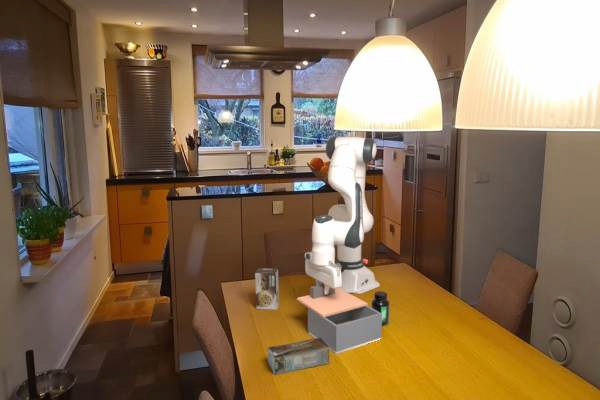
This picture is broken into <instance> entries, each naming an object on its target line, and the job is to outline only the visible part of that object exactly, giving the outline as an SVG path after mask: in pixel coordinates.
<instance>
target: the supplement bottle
mask: <svg viewBox="0 0 600 400" xmlns="http://www.w3.org/2000/svg"><path fill="white" fill-rule="evenodd" d="M373 297H374V298H372V300H371V308H373V309H374V310H376V311H378V312H380V313H382V327H385V326H387V325H389V322H390V301H389V300H388V292H386V291H382V290H381V291H379V290H378V291H375V292H374V296H373ZM384 325H385V326H384Z"/></svg>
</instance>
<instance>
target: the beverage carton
mask: <svg viewBox="0 0 600 400" xmlns="http://www.w3.org/2000/svg"><path fill="white" fill-rule="evenodd" d="M267 360H268V361H267V364H268V366H269V367H270V369H271V370H272V373H273V375H275V376H276V375H280V374H287V373H291V372H295V371H301V370H305V369H310V368H314V367H320V366H323V365H324V366H325V365H329V364H330V349H329V346H328V345H327V344H326V343H325V342H324V341H323V340H322V339H321V337H320V338H311V339H304V340H301V341H296V342H290V343H286V344H285V343H284V344H280V345H274V346H269V347H267Z"/></svg>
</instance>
